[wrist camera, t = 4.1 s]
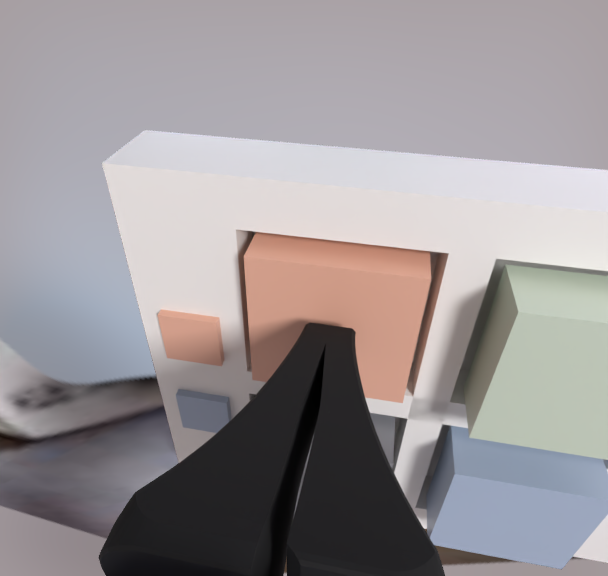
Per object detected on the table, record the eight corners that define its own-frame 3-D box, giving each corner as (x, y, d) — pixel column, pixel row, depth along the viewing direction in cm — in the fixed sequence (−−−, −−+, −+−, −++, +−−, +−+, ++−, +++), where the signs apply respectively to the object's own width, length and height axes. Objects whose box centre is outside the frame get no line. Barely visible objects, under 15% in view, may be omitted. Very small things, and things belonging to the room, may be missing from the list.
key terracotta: (428, 238, 14) (431, 279, 12) (403, 358, 17) (402, 403, 15) (261, 220, 14) (243, 256, 13) (266, 339, 17) (252, 379, 16)
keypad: (880, 193, 12) (988, 255, 10) (614, 508, 22) (638, 576, 20) (144, 130, 15) (95, 167, 12) (202, 437, 24) (181, 489, 22)
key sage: (708, 287, 12) (752, 341, 11) (623, 410, 15) (647, 466, 14) (505, 264, 13) (518, 312, 11) (463, 387, 16) (468, 437, 14)
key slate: (598, 447, 16) (618, 501, 15) (549, 517, 19) (561, 569, 18) (451, 423, 17) (454, 473, 15) (426, 495, 20) (427, 543, 19)
